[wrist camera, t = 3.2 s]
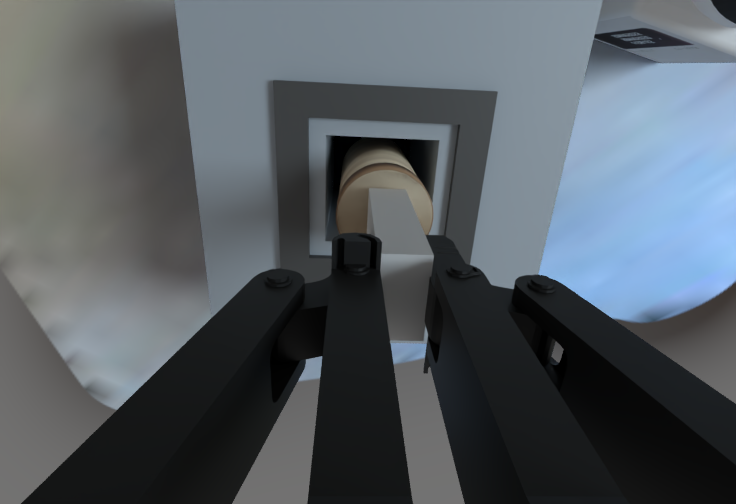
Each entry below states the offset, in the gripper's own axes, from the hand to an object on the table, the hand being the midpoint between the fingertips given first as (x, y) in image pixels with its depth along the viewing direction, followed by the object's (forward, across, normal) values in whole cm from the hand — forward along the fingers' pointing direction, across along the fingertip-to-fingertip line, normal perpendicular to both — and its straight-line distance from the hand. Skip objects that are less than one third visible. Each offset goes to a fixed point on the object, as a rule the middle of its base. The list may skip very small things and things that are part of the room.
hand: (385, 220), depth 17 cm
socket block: (+14, 0, 0) cm, 14 cm away
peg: (+9, 0, 0) cm, 9 cm away
